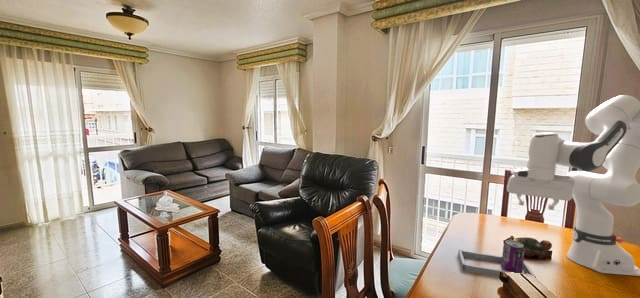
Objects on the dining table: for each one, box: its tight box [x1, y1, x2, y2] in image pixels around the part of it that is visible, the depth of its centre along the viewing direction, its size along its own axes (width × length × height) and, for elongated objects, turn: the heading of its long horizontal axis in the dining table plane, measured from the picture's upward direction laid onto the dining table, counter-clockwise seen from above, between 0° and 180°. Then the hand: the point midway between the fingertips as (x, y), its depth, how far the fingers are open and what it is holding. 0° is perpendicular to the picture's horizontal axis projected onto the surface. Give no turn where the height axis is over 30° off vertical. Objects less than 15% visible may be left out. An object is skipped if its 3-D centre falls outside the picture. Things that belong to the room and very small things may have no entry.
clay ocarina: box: [515, 237, 553, 260], centre depth 123 cm, size 10×15×8 cm, turn 73°
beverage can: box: [501, 239, 525, 274], centre depth 110 cm, size 7×7×12 cm
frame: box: [457, 249, 537, 279], centre depth 113 cm, size 25×13×2 cm, turn 70°
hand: (535, 207), depth 108 cm, fingers open, 8 cm apart
